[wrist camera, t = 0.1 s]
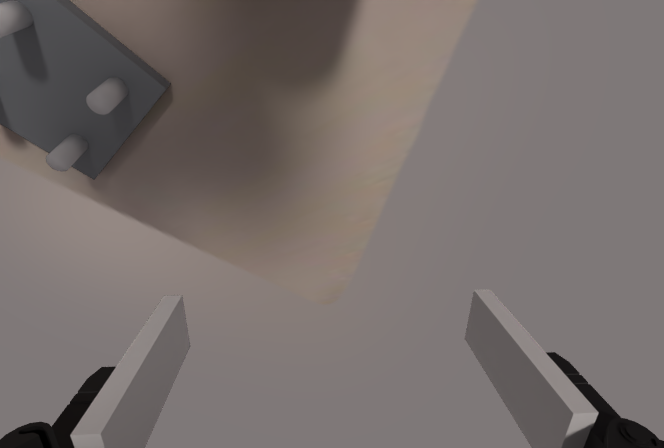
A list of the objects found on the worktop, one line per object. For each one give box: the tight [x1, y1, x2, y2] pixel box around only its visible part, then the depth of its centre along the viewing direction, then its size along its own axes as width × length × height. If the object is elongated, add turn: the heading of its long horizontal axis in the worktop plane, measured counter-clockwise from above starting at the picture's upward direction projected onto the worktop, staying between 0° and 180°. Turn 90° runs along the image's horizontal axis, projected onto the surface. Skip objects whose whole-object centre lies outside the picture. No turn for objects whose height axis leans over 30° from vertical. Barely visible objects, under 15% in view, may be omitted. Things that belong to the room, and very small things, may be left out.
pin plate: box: [0, 0, 171, 179], centre depth 33 cm, size 15×15×6 cm
